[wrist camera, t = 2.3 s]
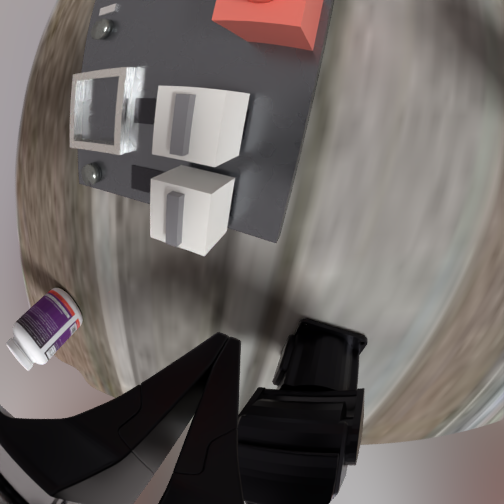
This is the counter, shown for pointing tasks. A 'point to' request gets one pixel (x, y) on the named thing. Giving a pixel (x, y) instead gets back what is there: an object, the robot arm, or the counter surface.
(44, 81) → the counter surface
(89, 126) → the panel
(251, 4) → the red block with knob
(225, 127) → the block
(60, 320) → the pill bottle
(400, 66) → the counter surface
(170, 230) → the breaker
